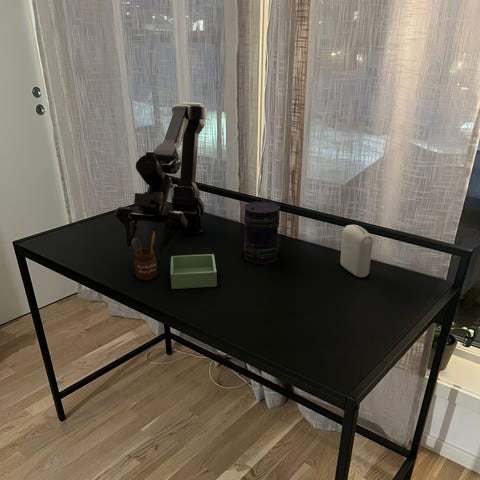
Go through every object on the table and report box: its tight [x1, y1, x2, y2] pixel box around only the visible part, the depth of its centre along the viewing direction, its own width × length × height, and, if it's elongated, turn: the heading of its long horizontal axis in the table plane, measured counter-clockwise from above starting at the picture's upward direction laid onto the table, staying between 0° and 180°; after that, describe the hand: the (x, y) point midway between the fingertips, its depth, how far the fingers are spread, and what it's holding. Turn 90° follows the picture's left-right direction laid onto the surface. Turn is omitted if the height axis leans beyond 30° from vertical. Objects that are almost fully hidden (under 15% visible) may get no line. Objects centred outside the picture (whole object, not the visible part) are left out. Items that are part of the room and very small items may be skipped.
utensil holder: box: [131, 231, 158, 281], centre depth 135 cm, size 6×6×12 cm
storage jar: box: [243, 200, 280, 265], centre depth 145 cm, size 10×10×15 cm
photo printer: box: [339, 224, 374, 278], centre depth 137 cm, size 10×4×12 cm, turn 20°
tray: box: [169, 253, 218, 290], centre depth 136 cm, size 12×12×4 cm
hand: (144, 247), depth 135 cm, fingers open, 9 cm apart
